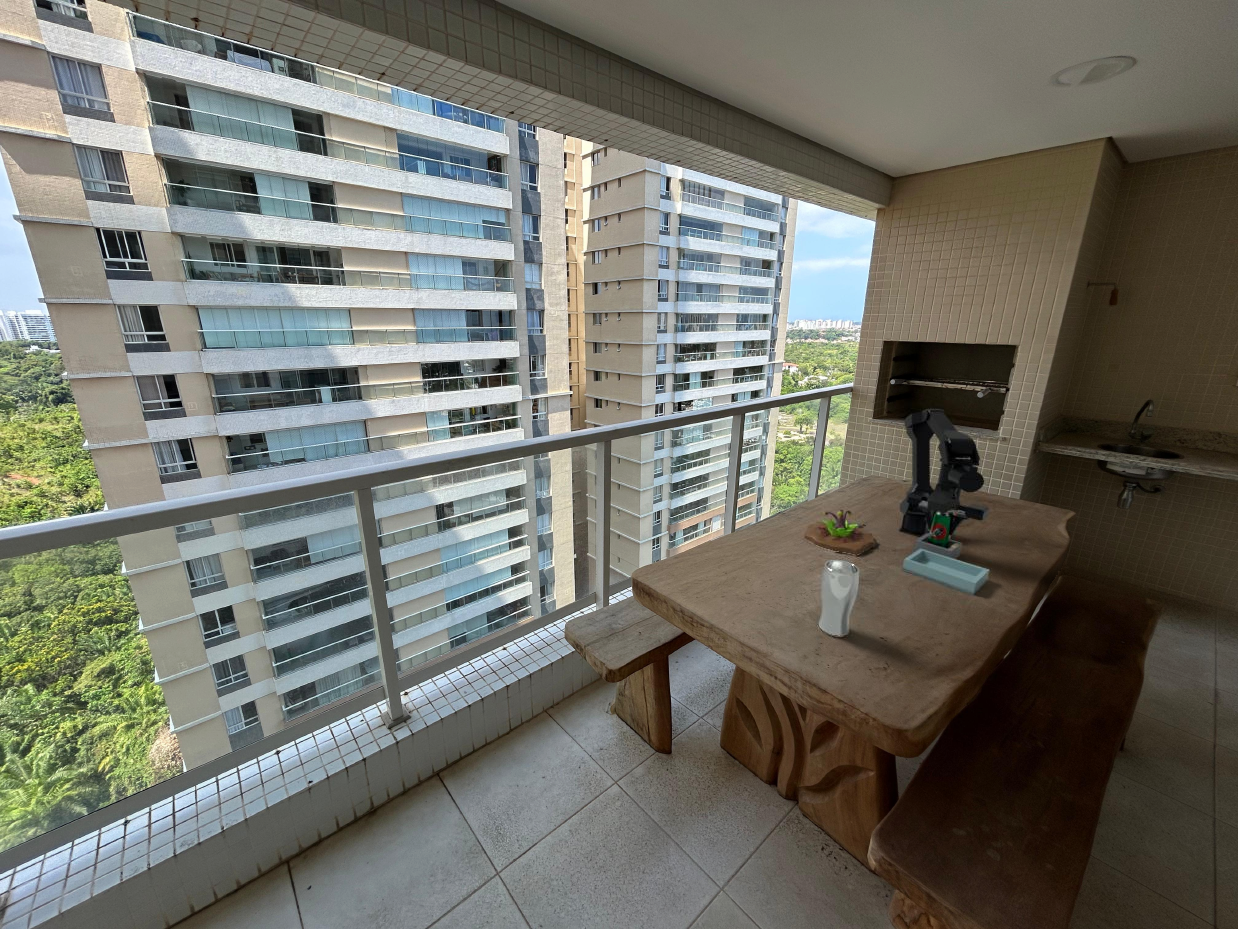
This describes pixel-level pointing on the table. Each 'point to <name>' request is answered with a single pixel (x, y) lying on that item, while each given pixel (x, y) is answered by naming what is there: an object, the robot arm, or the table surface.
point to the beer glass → (838, 596)
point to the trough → (946, 571)
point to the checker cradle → (951, 552)
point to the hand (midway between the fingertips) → (940, 532)
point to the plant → (839, 535)
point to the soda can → (941, 528)
